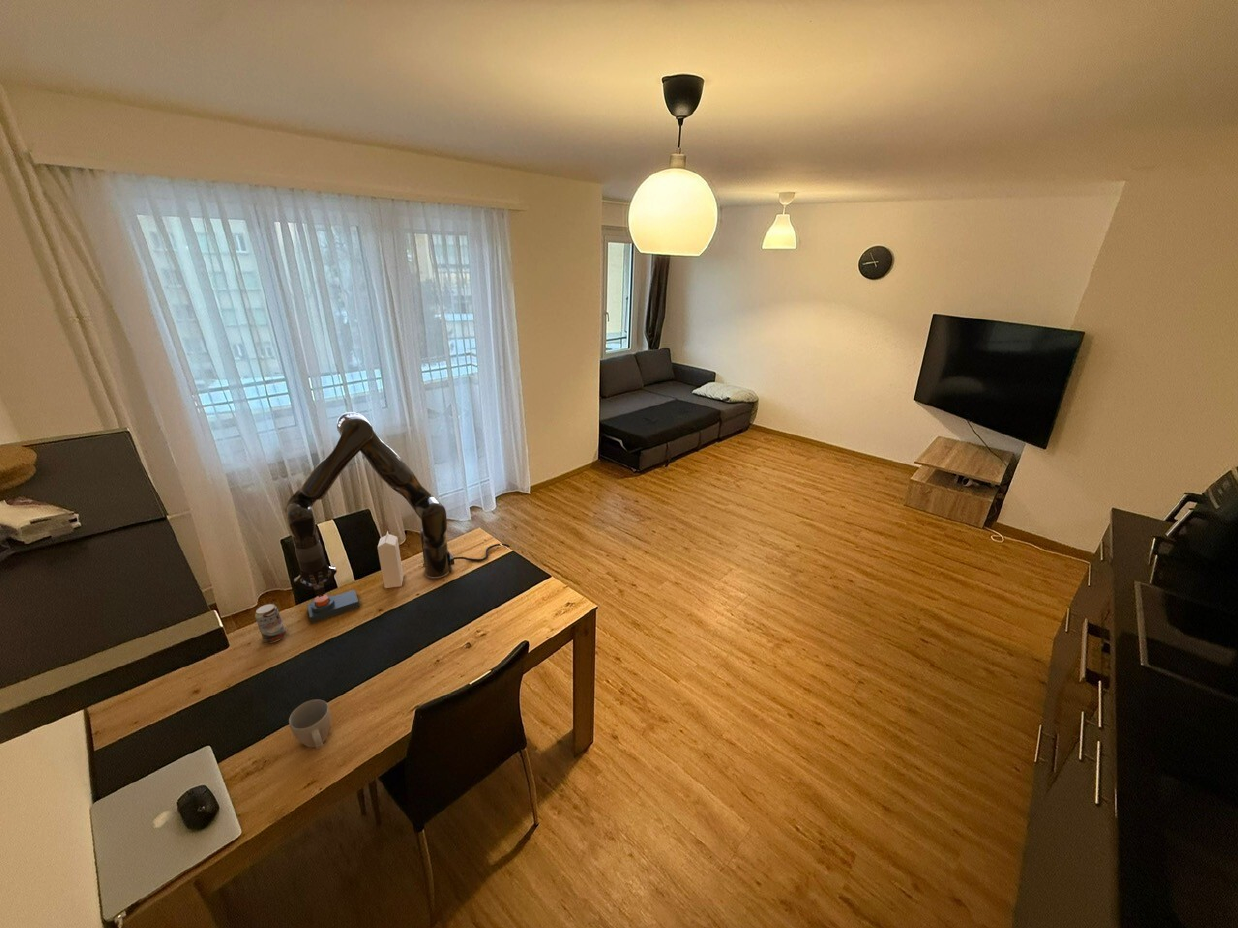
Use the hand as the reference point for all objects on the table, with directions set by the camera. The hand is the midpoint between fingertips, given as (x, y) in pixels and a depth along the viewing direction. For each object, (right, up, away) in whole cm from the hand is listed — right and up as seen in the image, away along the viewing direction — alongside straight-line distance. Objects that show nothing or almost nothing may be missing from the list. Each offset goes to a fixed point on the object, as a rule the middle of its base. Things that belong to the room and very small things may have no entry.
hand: (321, 595), depth 167 cm
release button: (0, -3, +1) cm, 3 cm away
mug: (+24, -28, -39) cm, 54 cm away
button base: (+2, -6, +5) cm, 8 cm away
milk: (+16, 0, +20) cm, 25 cm away
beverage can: (-10, -12, -9) cm, 18 cm away
